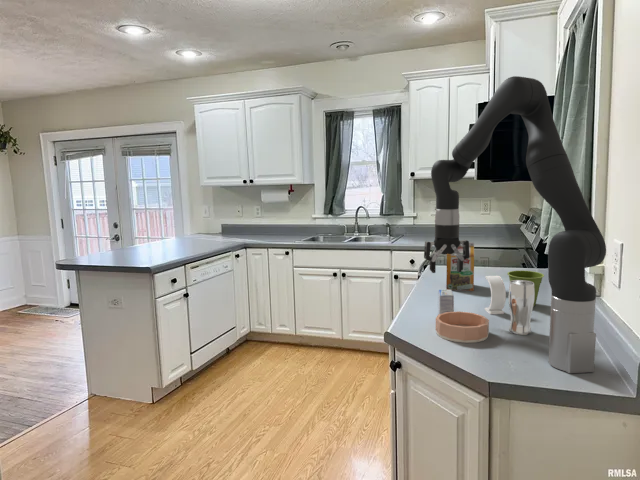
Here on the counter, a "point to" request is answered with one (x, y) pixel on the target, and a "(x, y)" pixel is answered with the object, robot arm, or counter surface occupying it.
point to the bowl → (462, 327)
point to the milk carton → (466, 276)
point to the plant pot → (528, 279)
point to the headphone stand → (496, 295)
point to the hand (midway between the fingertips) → (446, 272)
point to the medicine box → (446, 301)
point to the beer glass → (521, 306)
